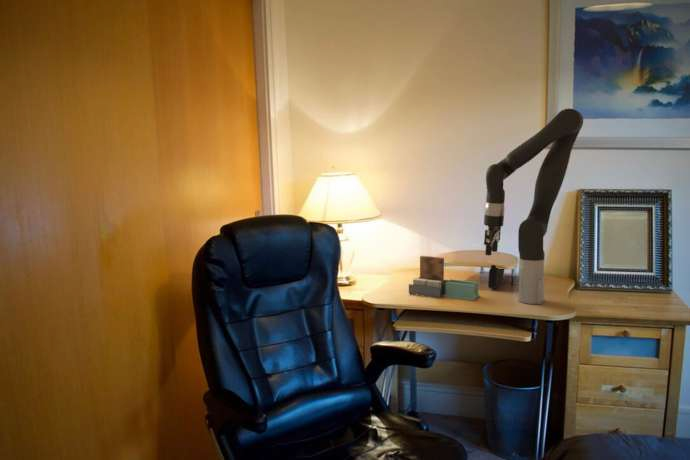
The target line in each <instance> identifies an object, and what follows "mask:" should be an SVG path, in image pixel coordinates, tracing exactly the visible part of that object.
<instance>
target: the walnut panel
mask: <svg viewBox="0 0 690 460" xmlns="http://www.w3.org/2000/svg"><path fill="white" fill-rule="evenodd" d="M419 277H420V279H428V280H437V281H442V282H444V280H445V258H444V257H439V256H431V255H429V256H428V255H420V256H419Z"/></svg>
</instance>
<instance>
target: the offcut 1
mask: <svg viewBox="0 0 690 460" xmlns="http://www.w3.org/2000/svg"><path fill="white" fill-rule="evenodd" d="M427 280H428V279H420V278H418V277H415V278H413V280H412V282H413V284H412V285H420V286H426V281H427Z"/></svg>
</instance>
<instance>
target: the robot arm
mask: <svg viewBox="0 0 690 460" xmlns="http://www.w3.org/2000/svg"><path fill="white" fill-rule="evenodd" d="M583 125H584V116H583V115H582V114H581V112H580V111H578V110H577V109H574V108H565V109H562V110H560V111H559V112H558V113H557V114H556V115H554V117H553V118H552V119H551V120H550V121H549V122H548V123H547V124H546V125H545V126H544V127H542V129H540V130H539V131H538V132H536V133H535V134H534V135H533V136H531V137H530V138H527V140H525V141H524V142H523V143H521V144H519V146H517V147H516V148H514V149H513V150H511V151H510V152H509V153H508V154H506V156H505V157H504V158H503V159H501V160H500V161H499V162H497V163H494V164H490V165H489V166H488V168H487V169H486V174H485V184H486V199H485V207H484V217H483V219H484V221H483V225H484V226H486V227H488V228H487V229H485V231H484V238H483V239H484V240H483V245H484V246H485V255H486V256H489V257H490V256H492V252H494V253H496V252H498V249H499V248H498V247H499V246H498V245H499V242H500V241H501V229H502V227H503V226H504V220H505V219H504V217H505V200H506V199H505V198H506V191H505V189H504V180H506V179H508V177H510V176H511V175H512V174H514V173H515V172H516V171H517V170H518V169H520V168H522V167H523V166H524V165H526V164H527V163H529V162H530V161H532V160H533V159H534V158H535V157H536V156H538V155H539V154H540V153H541V152H542V151H544V149H546V148H547V147H548V146H549V145H550V148H549V150H548V152H547V153H546V155H545V158H544V159H543V160H542V163H541V166H540V168H539V170H538V173H537V177H536V180H535V185H534V192H533V194H534V195H533V201H532V206H531V208H530V211H529V213H528V215H527V217H526V219H524V220H523V221H522V222H521V223H520V225H519V227H518V236H517V237H518V241H517V242H518V246H517V247H518V254H519V256H518V257H519V261H518V263H519V265H518V268H519V269H518V295H517V296H518V297H517V300H518V301H519V302H521V303H522V304H529V305H530V304H531V305H542V304H543V303H544V302H545V290H546V289H545V283H546V277H545V273H544V272H545V258H546V257H545V256H546V255H545V251H544V237H545V235H546V234H547V232H548V227H549V221H550V217H551V212H552V209H553V206H554V205H555V202H556V200H557V197H558V195H559V193H560V190H561V188H562V185H563V182H564V180H565V177H566V173H567V169H568V165H569V161H570V157H571V153H572V151H573V150H572V149H573V147H574V145H575V142H576V139H577V138H578V136H579V133H580V131H581V129H582V127H583Z"/></svg>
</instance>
